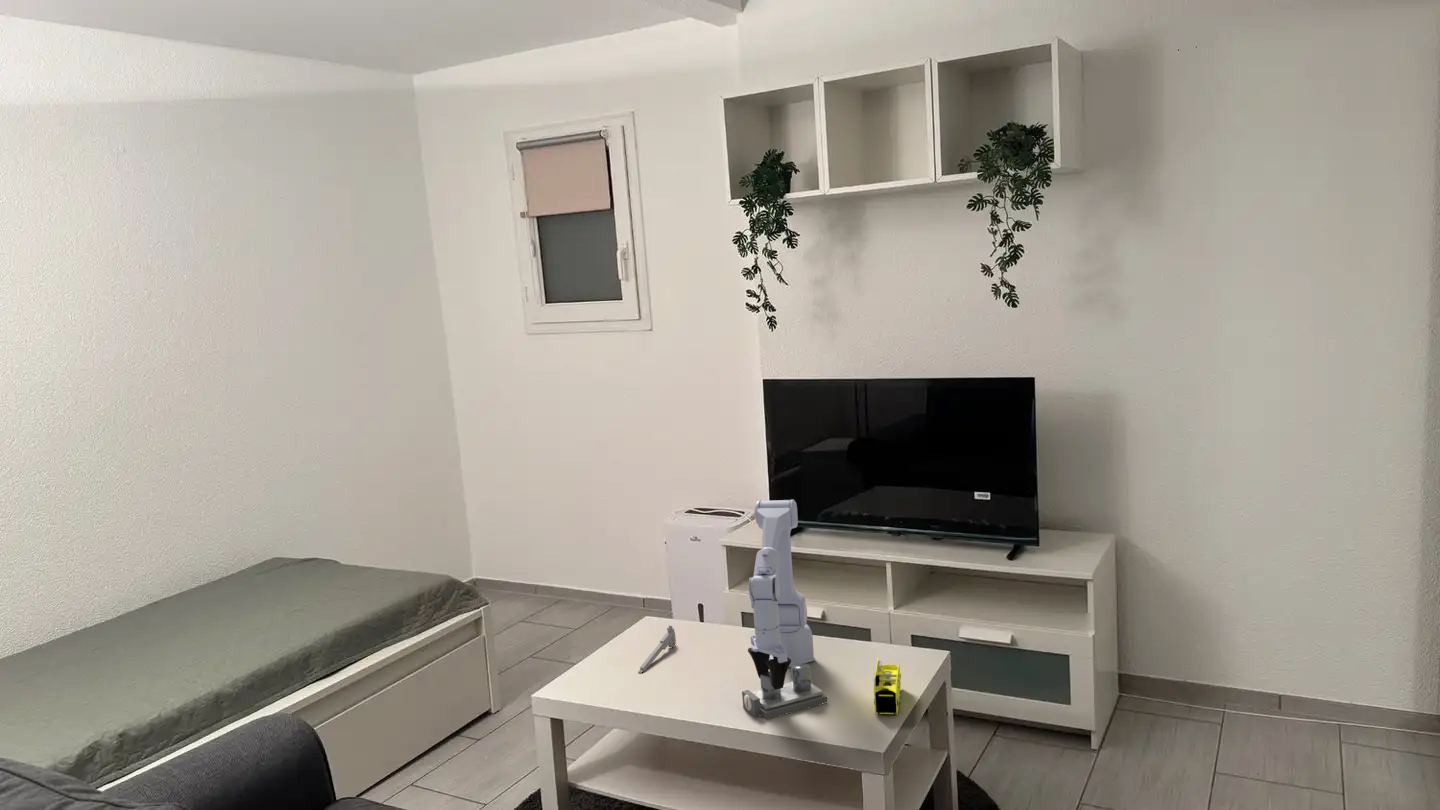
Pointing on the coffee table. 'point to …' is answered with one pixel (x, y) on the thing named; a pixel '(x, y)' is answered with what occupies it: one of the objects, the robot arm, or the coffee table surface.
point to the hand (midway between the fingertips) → (770, 682)
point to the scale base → (755, 709)
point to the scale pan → (788, 696)
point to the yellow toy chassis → (886, 688)
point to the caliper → (660, 648)
